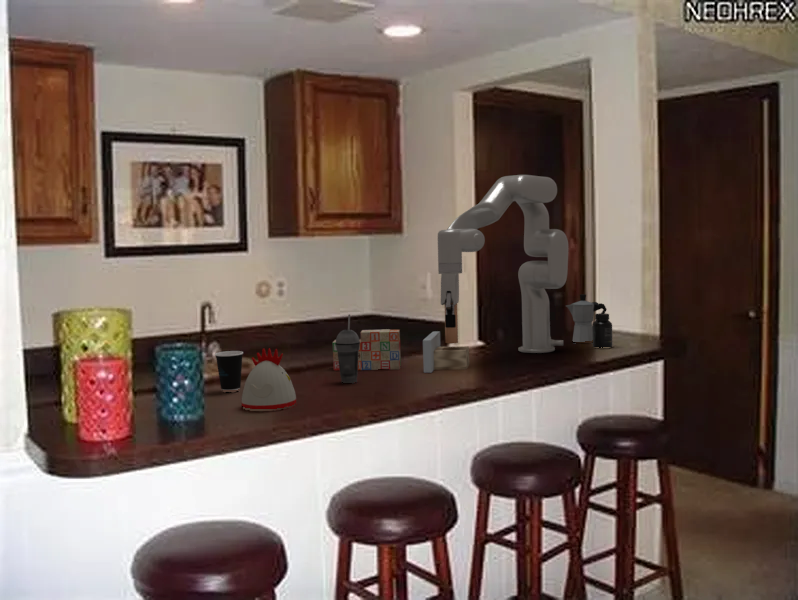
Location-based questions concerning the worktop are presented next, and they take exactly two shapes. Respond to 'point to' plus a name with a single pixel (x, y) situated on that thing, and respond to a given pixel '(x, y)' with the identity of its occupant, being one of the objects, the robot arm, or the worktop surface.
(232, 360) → the dixie cup
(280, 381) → the kitchen timer
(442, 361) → the socket block
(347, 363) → the beverage cup
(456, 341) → the dowel
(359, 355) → the stack of blocks
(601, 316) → the supplement bottle
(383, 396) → the worktop surface
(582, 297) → the coffee maker
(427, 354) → the backstop wall
